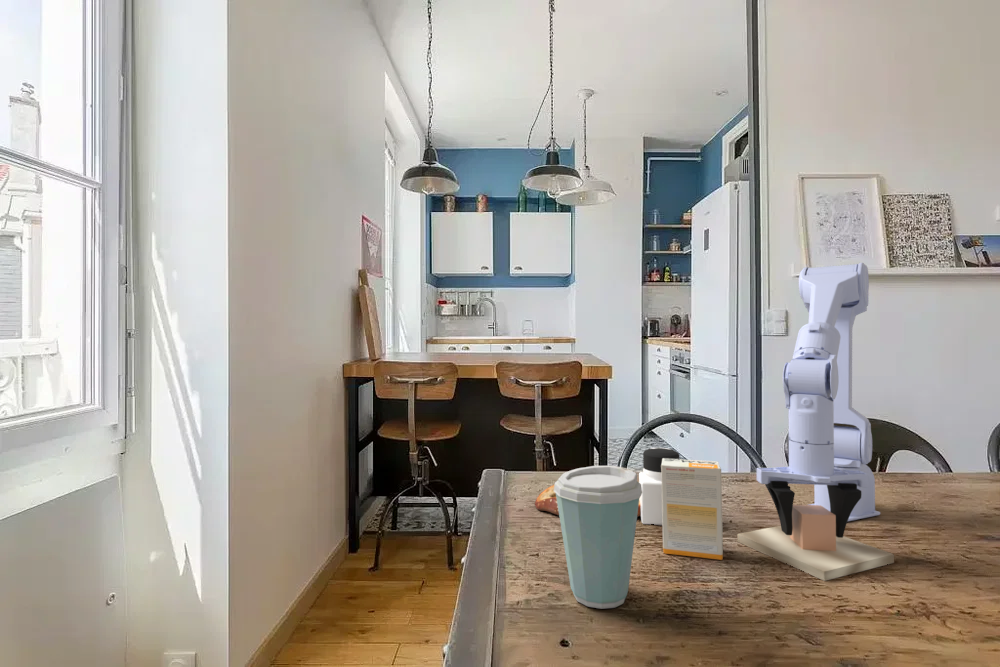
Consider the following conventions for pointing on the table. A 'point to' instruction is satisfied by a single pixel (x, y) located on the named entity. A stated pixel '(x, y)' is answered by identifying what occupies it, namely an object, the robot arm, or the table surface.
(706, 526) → the supplement box
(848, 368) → the robot arm
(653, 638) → the table surface
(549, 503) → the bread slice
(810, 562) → the post board
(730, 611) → the table surface
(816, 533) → the salmon pink cube
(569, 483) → the disposable coffee cup
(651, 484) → the medicine bottle
